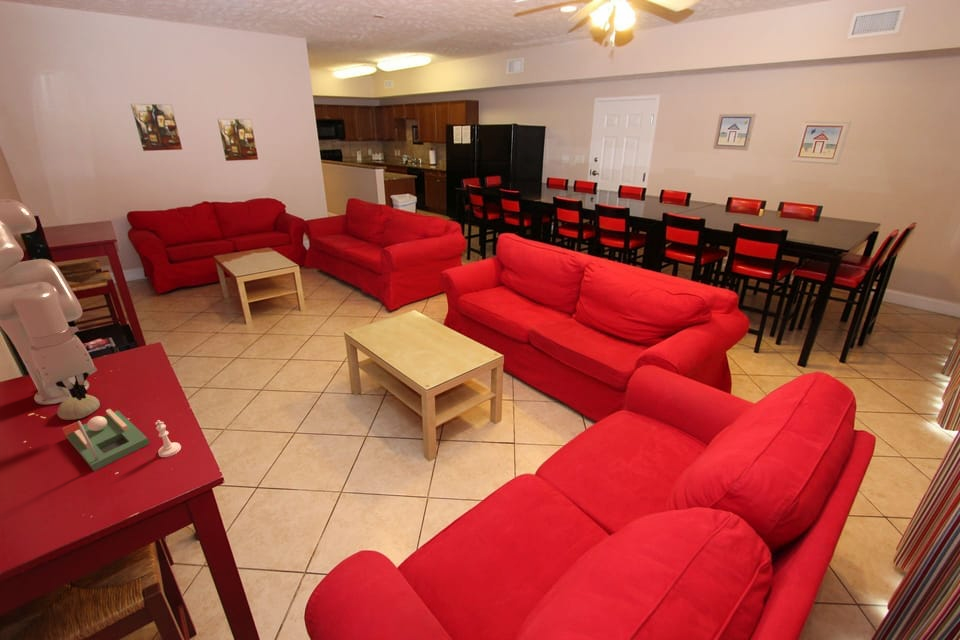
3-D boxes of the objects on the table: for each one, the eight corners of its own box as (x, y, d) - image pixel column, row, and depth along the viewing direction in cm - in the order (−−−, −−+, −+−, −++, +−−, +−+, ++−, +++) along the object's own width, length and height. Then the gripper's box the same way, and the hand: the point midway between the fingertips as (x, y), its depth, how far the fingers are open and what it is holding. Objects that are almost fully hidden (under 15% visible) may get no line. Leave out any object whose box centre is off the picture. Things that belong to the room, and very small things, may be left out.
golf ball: (88, 430, 115) (82, 418, 113) (106, 422, 118) (101, 411, 116) (93, 436, 113) (87, 424, 111) (111, 428, 116) (106, 416, 114)
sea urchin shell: (78, 419, 119) (53, 400, 117) (70, 432, 122) (46, 413, 121) (109, 400, 127) (87, 382, 125) (101, 412, 130) (79, 395, 129)
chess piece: (175, 456, 110) (164, 426, 105) (154, 458, 109) (142, 427, 105) (184, 443, 114) (173, 413, 110) (164, 445, 113) (152, 415, 109)
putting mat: (59, 441, 113) (37, 398, 107) (120, 415, 124) (103, 375, 117) (86, 474, 103) (63, 430, 97) (149, 443, 114) (132, 401, 107)
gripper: (84, 323, 115) (109, 380, 122) (7, 345, 103) (40, 406, 111) (94, 330, 111) (119, 389, 118) (15, 353, 100) (48, 416, 107)
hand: (81, 397), depth 115 cm, fingers closed
